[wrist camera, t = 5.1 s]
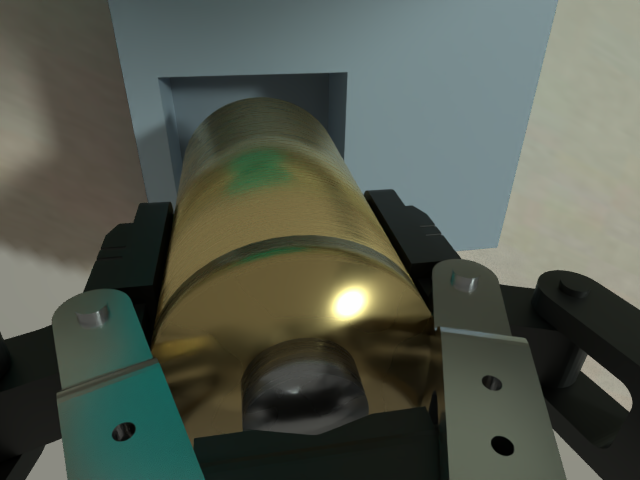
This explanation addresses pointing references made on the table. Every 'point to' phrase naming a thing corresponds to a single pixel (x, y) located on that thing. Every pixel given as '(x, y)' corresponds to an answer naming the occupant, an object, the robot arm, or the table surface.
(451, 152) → the housing
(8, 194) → the table surface
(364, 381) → the gold battery
